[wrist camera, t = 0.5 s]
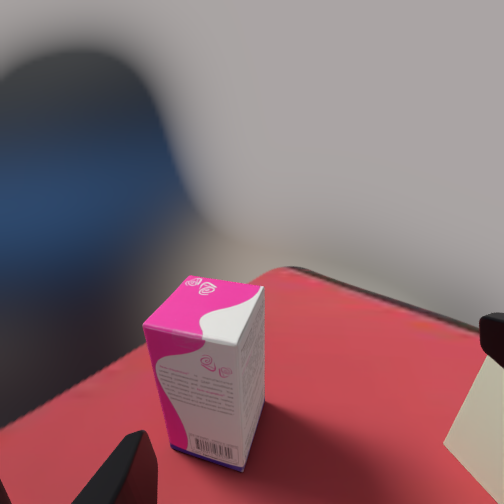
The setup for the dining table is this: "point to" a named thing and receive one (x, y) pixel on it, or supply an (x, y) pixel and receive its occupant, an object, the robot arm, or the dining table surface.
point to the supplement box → (210, 367)
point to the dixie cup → (3, 495)
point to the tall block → (482, 430)
